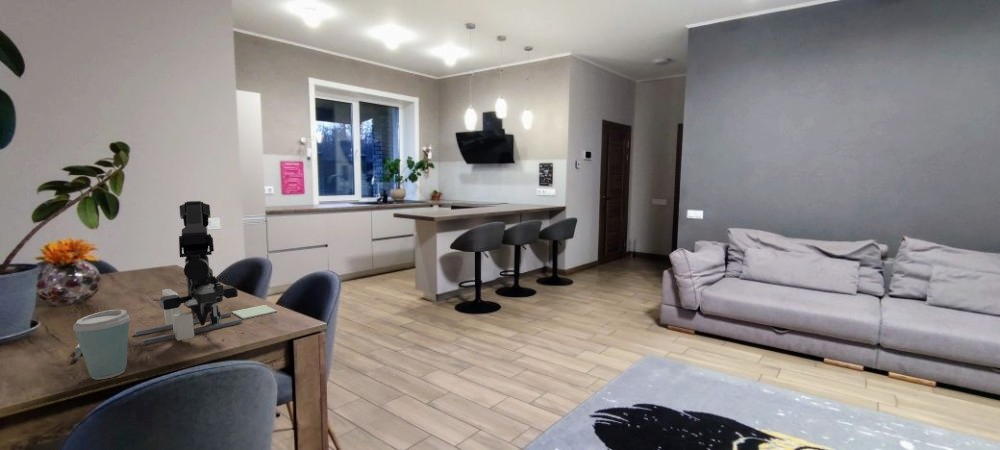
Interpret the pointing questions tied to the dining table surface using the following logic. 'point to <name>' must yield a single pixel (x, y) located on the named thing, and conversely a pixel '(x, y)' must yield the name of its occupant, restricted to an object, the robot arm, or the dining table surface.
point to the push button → (215, 311)
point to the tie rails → (196, 330)
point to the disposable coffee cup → (104, 342)
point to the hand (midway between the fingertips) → (202, 325)
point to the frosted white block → (179, 319)
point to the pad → (254, 312)
